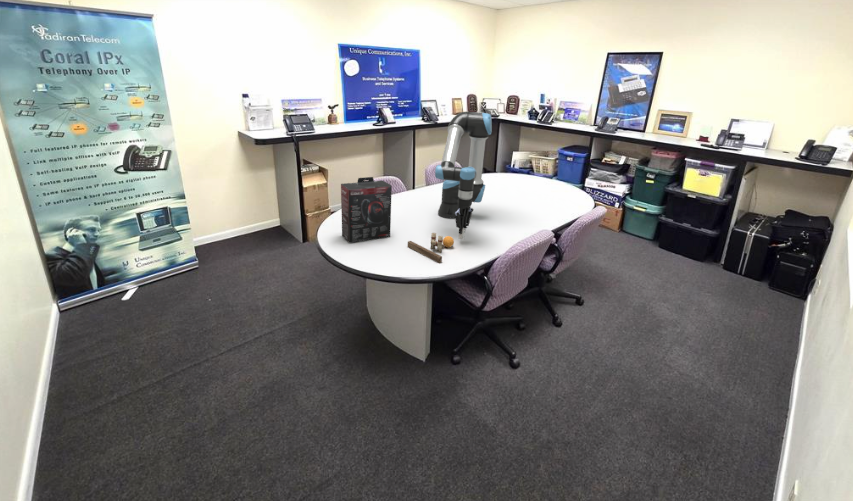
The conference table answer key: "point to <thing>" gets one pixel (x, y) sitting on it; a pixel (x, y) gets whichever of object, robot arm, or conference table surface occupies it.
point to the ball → (448, 241)
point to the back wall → (425, 251)
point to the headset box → (366, 210)
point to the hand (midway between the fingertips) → (461, 238)
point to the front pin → (436, 243)
